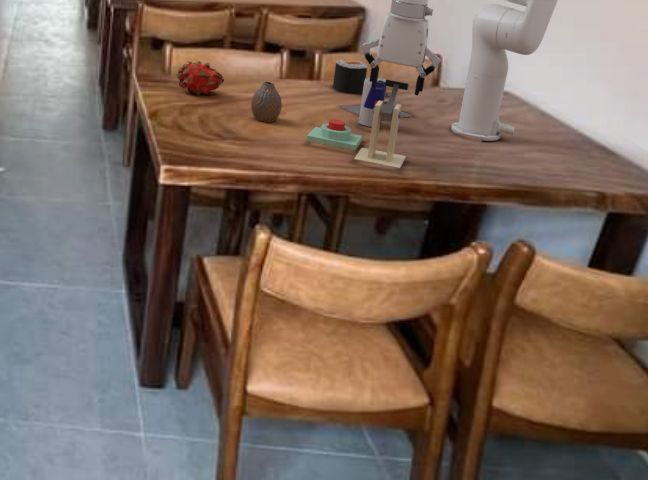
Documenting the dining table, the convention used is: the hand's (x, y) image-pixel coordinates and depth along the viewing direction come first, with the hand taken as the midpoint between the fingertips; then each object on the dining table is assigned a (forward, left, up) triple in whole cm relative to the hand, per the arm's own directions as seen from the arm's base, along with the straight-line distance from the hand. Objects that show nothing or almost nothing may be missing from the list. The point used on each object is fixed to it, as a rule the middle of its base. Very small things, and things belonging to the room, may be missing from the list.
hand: (395, 89), depth 215 cm
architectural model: (+8, -33, -14) cm, 37 cm away
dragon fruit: (+50, -18, -14) cm, 55 cm away
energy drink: (+7, -16, -14) cm, 23 cm away
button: (+11, +3, -11) cm, 16 cm away
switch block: (+11, +3, -14) cm, 18 cm away
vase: (+30, -6, -14) cm, 34 cm away
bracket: (0, +9, -14) cm, 17 cm away
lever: (0, +4, -2) cm, 5 cm away
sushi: (+19, -50, -14) cm, 55 cm away
